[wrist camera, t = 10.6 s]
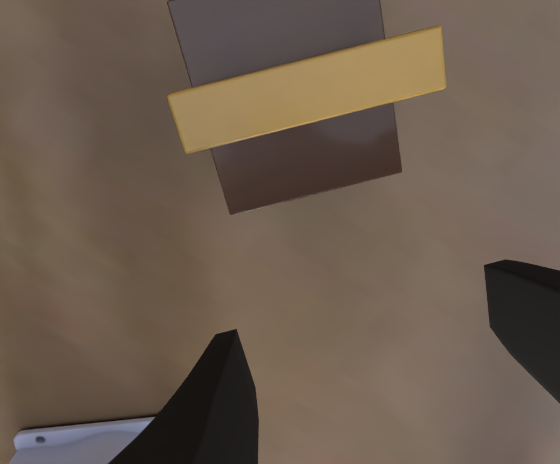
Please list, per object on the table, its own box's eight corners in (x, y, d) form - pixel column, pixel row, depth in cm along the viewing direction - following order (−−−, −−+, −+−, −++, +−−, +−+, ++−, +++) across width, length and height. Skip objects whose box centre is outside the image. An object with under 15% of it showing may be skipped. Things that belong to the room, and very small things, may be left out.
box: (456, 198, 9) (433, -100, 7) (218, 259, 9) (127, -22, 7) (341, 130, 20) (318, 2, 18) (230, 158, 20) (195, 33, 18)
